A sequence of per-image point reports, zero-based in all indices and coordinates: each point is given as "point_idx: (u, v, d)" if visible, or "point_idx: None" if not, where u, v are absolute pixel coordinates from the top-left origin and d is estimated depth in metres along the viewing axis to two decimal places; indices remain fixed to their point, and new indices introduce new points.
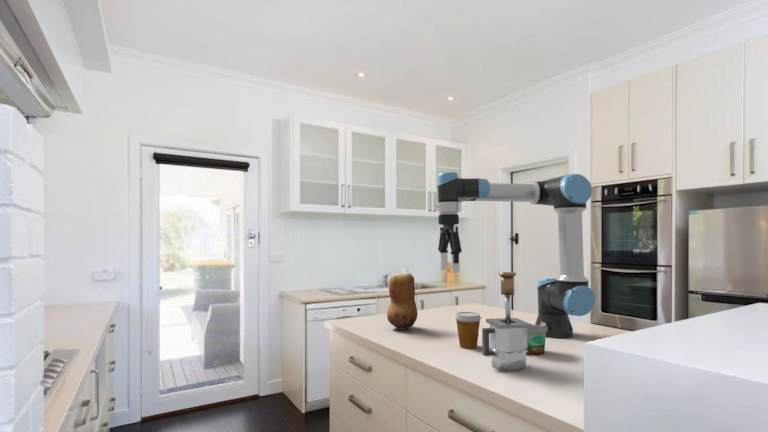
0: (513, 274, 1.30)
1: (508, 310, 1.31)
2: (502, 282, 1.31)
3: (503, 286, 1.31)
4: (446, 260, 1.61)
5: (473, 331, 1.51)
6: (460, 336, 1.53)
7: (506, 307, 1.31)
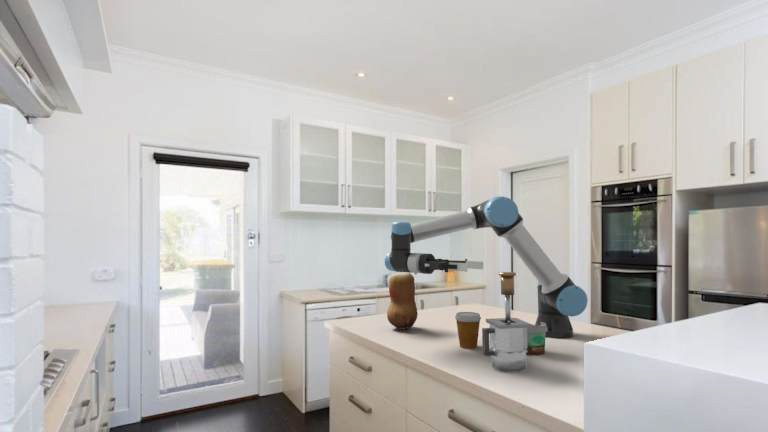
0: (513, 274, 1.30)
1: (508, 310, 1.31)
2: (502, 282, 1.31)
3: (503, 286, 1.31)
4: (473, 262, 1.52)
5: (473, 331, 1.51)
6: (460, 336, 1.53)
7: (506, 307, 1.31)
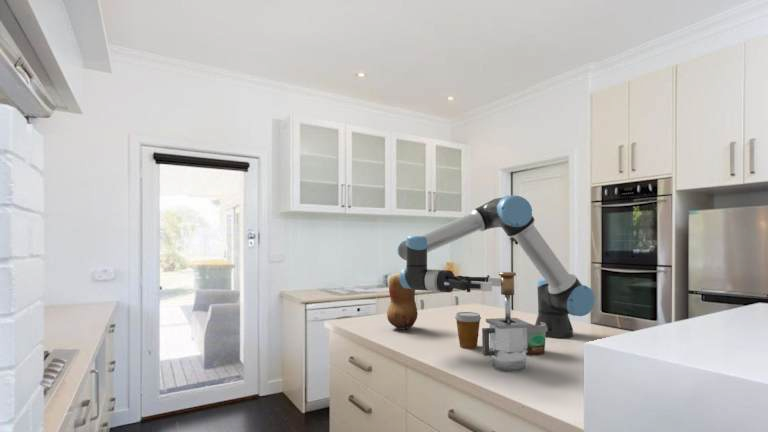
0: (513, 274, 1.30)
1: (508, 310, 1.31)
2: (502, 282, 1.31)
3: (503, 286, 1.31)
4: (496, 279, 1.40)
5: (473, 331, 1.51)
6: (460, 336, 1.53)
7: (506, 307, 1.31)
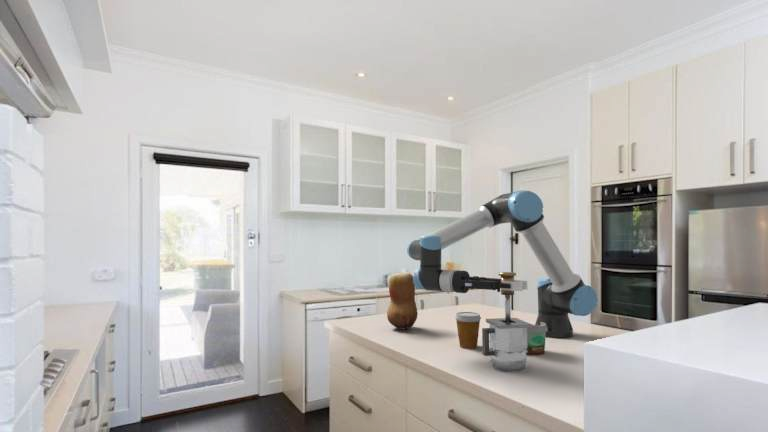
0: (513, 274, 1.30)
1: (508, 310, 1.31)
2: None
3: None
4: (515, 281, 1.33)
5: (473, 331, 1.51)
6: (460, 336, 1.53)
7: (506, 307, 1.31)
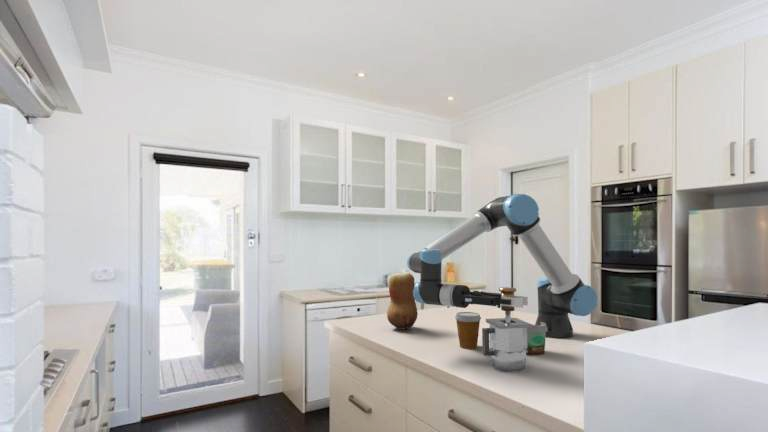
0: (513, 290, 1.30)
1: None
2: None
3: None
4: (515, 297, 1.32)
5: (473, 331, 1.51)
6: (460, 336, 1.53)
7: None
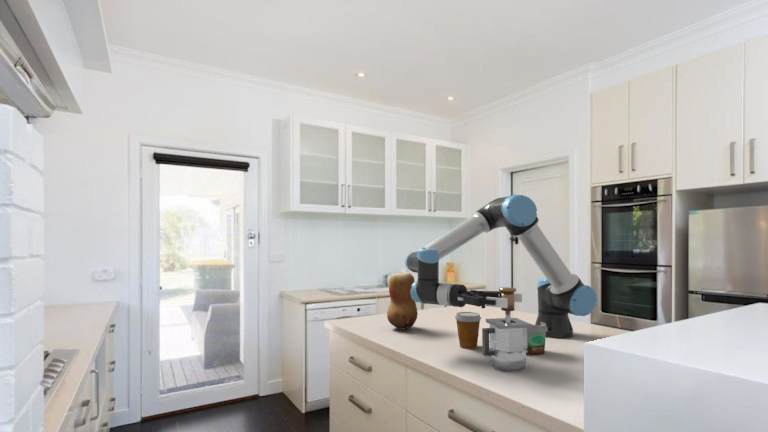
0: (513, 290, 1.30)
1: None
2: None
3: None
4: None
5: (473, 331, 1.51)
6: (460, 336, 1.53)
7: None
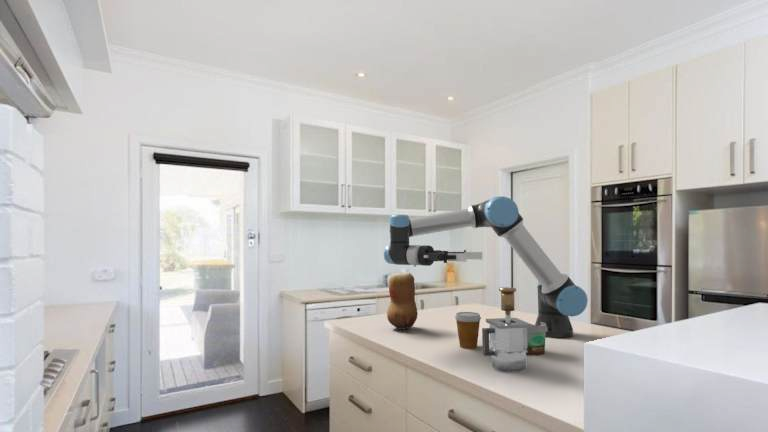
0: (513, 290, 1.30)
1: None
2: (502, 298, 1.31)
3: (503, 301, 1.30)
4: (472, 253, 1.52)
5: (473, 331, 1.51)
6: (460, 336, 1.53)
7: None
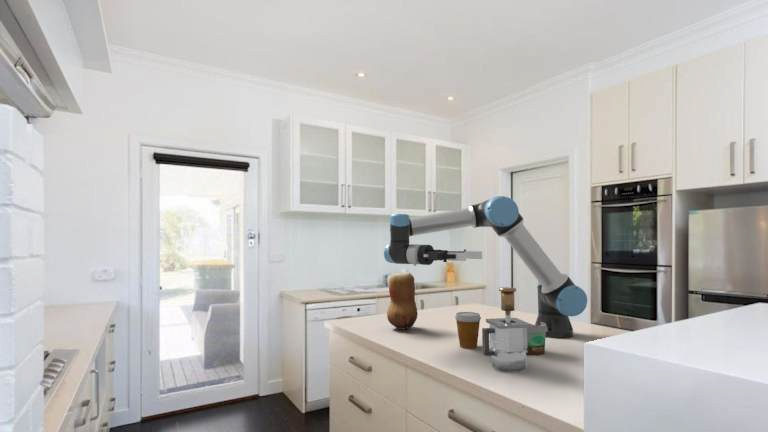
0: (513, 290, 1.30)
1: None
2: (502, 298, 1.31)
3: (503, 301, 1.30)
4: (471, 252, 1.52)
5: (473, 331, 1.51)
6: (460, 336, 1.53)
7: None
